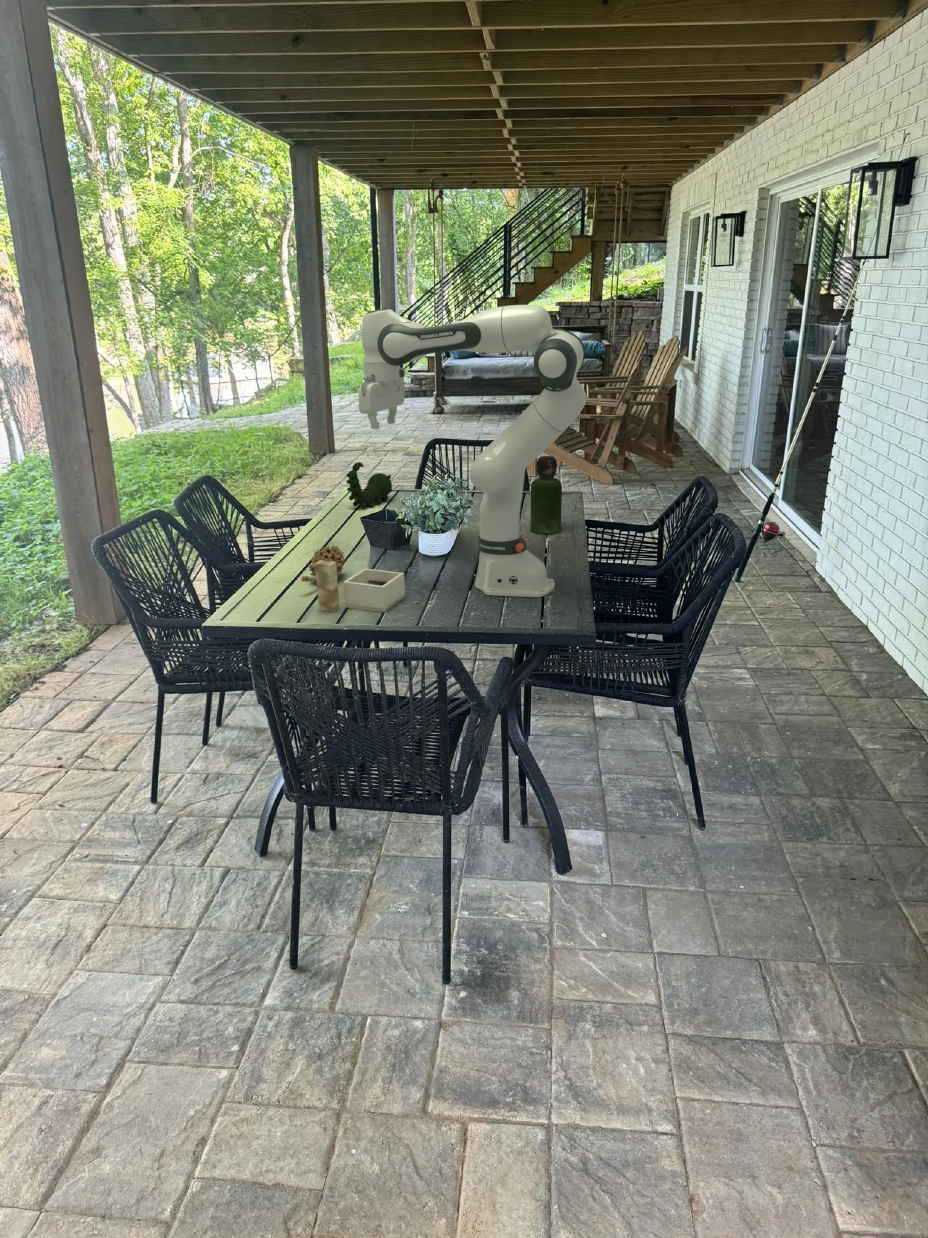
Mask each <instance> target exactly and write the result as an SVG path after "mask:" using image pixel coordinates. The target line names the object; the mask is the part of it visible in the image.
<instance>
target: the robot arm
mask: <svg viewBox="0 0 928 1238" xmlns="http://www.w3.org/2000/svg"><path fill="white" fill-rule="evenodd" d="M361 325H362V326H361V340H362V341H361V344H362V348H363V353H364V354H363V355H364V356H363V375H364V377H363V379H362V381H361V383H360V385H359V387H358V411H359V412H360V414H362V415H363V414H366V415H367V418H368V420H369V422H370V429H372V430H378V429H380V422H379V421H378V417H377V416H378V413H379V412H382V411H385V410H388V416H387V417H386V422H387V424H388V425H394V424H395V423H396V415H397V411H398V406H400V405H401V406H402V405H403V404H404V403H405V399H406V397H405V396H406V392H405V391H406V390H405V389H406V387H405V386H406V385H405V380H404V378H405V377H406V370H405V369H404V368H402V367H401V366H403V365H406V364H408V363H412V362H414V361H418V360H420V359H423V358H424V357H426V356H427V355H430V354H431V355H432V354H438V353H446V352H452V351H453V352H458V351H459V352H472V353H473V352H474V353H483V354H506V353H507V354H508V353H514V352H520V351H522V352H529V353H531V354H533V355H534V356H533V367H534V370H535V373H536V375H537V377H538V378H539V380H540V382H541V384H542V386H543V387H544V389H543V390H542V391H541V393H540V394H539V395H538V396H537V397H536V398H535V399H534V400H533V401H532V402H531V403H530V404H529V405H528V406H527V407H526V408H525V409H524V410H523V412H521V414H520V415H518V417H517V418H516V419H515V420H513V421H512V423H511V424H510V425H509V426H508V427H507V428H506V429H504V430H503V431H502V432H501V433H500V434H498V435H497V437H496V438H495V439H494V440H493V441H492V442H491V443H490V444H488V446H487V447H485V449H484V450H482V451H481V452H480V453H479V454H478V455H477V457H476V458H475V459H474V460H473V463H472V465H471V466H470V469H469V478H470V481H471V484H472V485H473V487H475V488H476V489H477V490H478V491H480V492H482V494H483V495H482V499H481V503H480V505H479V511H478V512H479V535H478V538H477V539H478V540H477V550H478V555H479V558H478V565H477V566H478V567H477V573H476V578H475V580H474V581H475V582H474V586H475V587H476V589H478V590H480V591H482V592H483V593H484V594H485V595H487V596H500V597H501V596H502V597H503V596H504V597H521V598H540V597H541V598H542V597H545V596H547V595H548V594H550V593H551V592H552V591H553V590H554V589H555V587H556V583H555V580H554V579H553V578H549V577H548V573H547V568H546V565H545V562H543V561H541V559H539V558H538V557H536V556H535V555H534V554H533V553H532V552H530V551H529V550H528V549H527V543H529V542H528V537H527V538H523V537H522V535H521V534H520V530H521V521H520V520H521V502H522V495H523V490H524V484H525V473H526V469H527V468H528V467H529V466H530V465H531V464H533V462H534V461H535V460H536V459H538V458H539V457H541V455H542V454H543V453H544V452H546V450H547V449H548V448H549V447H550V446H551V445H553V443H554V442H555V441H556V440H557V439H558V438H559V437H560V436H561V435H562V434H563V433H564V432H565V431H566V430H567V429H568V428H569V427H570V426H571V425H572V424H573V422H574V421H575V420H576V418H577V417H578V416H579V414H580V413H581V412H582V410H583V409H584V408H585V405H586V403H587V401H588V400H587V398H588V397H587V394H586V393H587V392H586V391H585V388H584V387H583V385H582V384H581V383H580V382H579V381H578V378H577V374H578V372H579V369H580V368H581V366H582V365H583V363H584V360H585V356H586V347H585V345H584V343H583V341H582V340H581V338H580V337H578V336H577V334H575V333H573V332H571V331H568V330H566V329H563V328H562V327H559V326H556V325H555V326H553V323H552V318H551V316H550V314H549V312H548V309H547V310H546V308H545V307H543V306H541V305H537V304H514V305H513V304H512V305H503V306H502V305H501V306H497V307H493V308H490V309H485V310H483V311H480V312H477V313H475V314H473V315H471V316H468V317H466V318H463V319H460V320H459V321H458V320H457V321H456V322H452V323H448V324H443V325H441V324H440V325H435V326H428V327H427V326H425V325H423V324H422V323H419V322H416V321H412V320H409V319H408V318H404V317H403V316H401V315H399V314H397V313H396V312H395V311H394V310H393V309H391V308H389V307H387V308H380V309H374V310H370V311H368V312H366V313H365V314H364V315H363V317H362V324H361Z"/></svg>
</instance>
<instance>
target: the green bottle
mask: <svg viewBox="0 0 928 1238" xmlns="http://www.w3.org/2000/svg"><path fill="white" fill-rule="evenodd" d="M557 468H558V463H557V459H556V458H555V456H552V455H542V456H541V455H540V456H538V457H537V460H536V475H537V476H538V478H534V480H533V481H532V482H531V484H530V531H531V532H533V533H535V534H540V535H552V534H556V533H559V532H560V531H561V530H562V502H563V501H562V500H563V499H562V498H563V496H562V495H563V494H562V491H563V485H562V482H561V480H559V479H558V478H556V477H554V476H556V475H557V471H558V470H557Z"/></svg>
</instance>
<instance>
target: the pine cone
mask: <svg viewBox="0 0 928 1238" xmlns="http://www.w3.org/2000/svg"><path fill="white" fill-rule="evenodd" d="M313 552H314V553H313V554H314V555H313V556H312V557H311V563H310V564H308V568H309V571H310V572H311V573H310V574H309V575H310V576H307V575H301V577H300V581H301V582H306V583H307V582H312V581H317V580H316V569H315V563H317V562H319V561H321V560H323V561H332V562H336V567H337V578H339V576H340V575H339V574H340V573H341V572H342V571H343V569H344V567H343V566H344V564H345V563H346V561H345V552H344V551H343V550H342V549H341V548H339V546H336V545H335V544H333V545H332V546H330V545H328V546H327V545H326V546H321V547H320V549H319V548H317V549H316V551H313Z"/></svg>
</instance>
